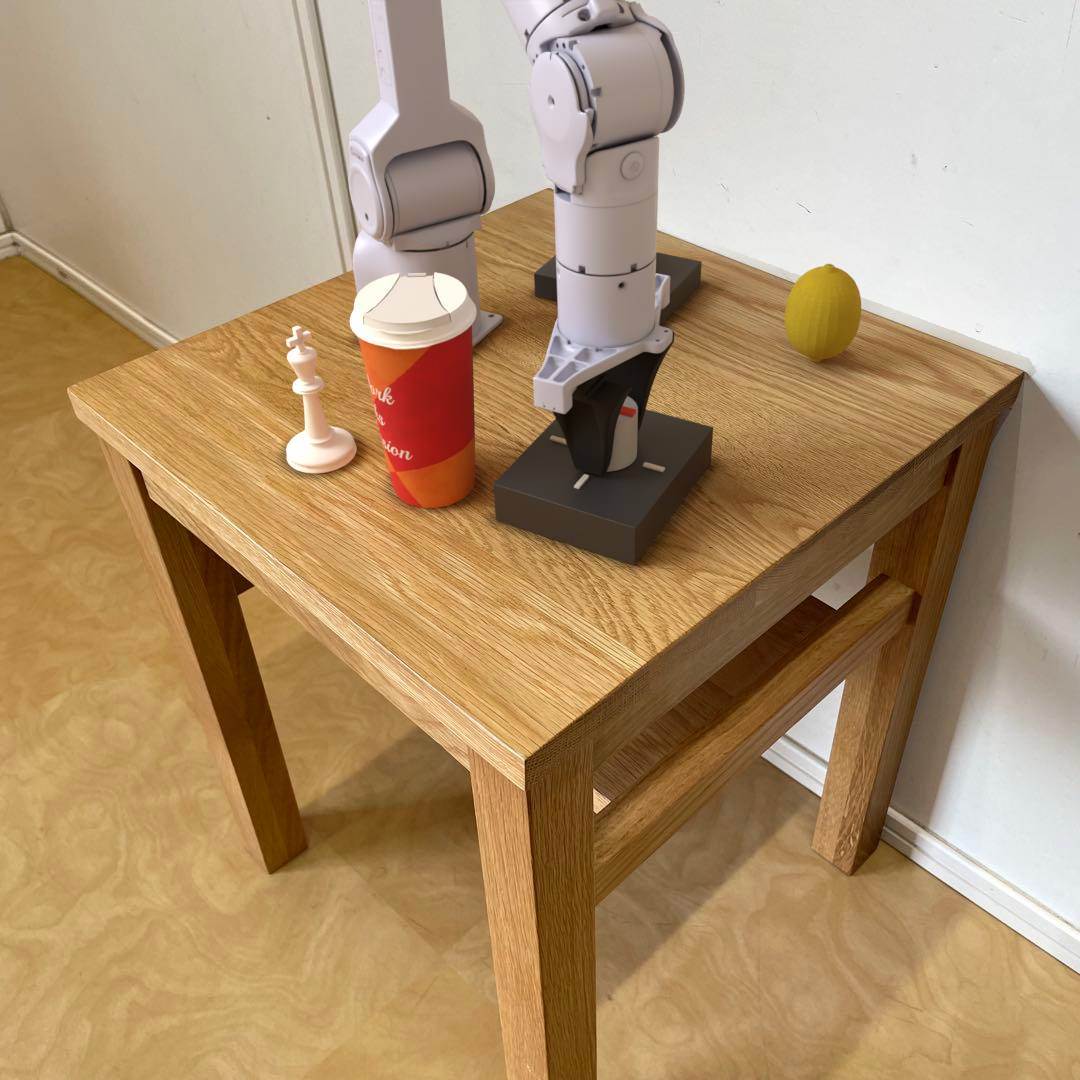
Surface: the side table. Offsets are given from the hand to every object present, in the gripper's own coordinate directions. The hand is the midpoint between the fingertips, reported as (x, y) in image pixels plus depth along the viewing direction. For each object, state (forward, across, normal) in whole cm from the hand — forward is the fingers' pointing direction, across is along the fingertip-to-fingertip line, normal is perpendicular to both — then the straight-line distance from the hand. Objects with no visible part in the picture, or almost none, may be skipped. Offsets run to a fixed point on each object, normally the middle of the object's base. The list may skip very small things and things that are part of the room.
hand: (606, 450), depth 72 cm
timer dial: (0, 0, 0) cm, 0 cm away
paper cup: (+3, -4, +11) cm, 12 cm away
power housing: (+3, +26, +12) cm, 29 cm away
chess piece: (+3, -5, +20) cm, 21 cm away
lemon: (+3, +22, -7) cm, 23 cm away
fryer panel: (+3, 0, 0) cm, 3 cm away
